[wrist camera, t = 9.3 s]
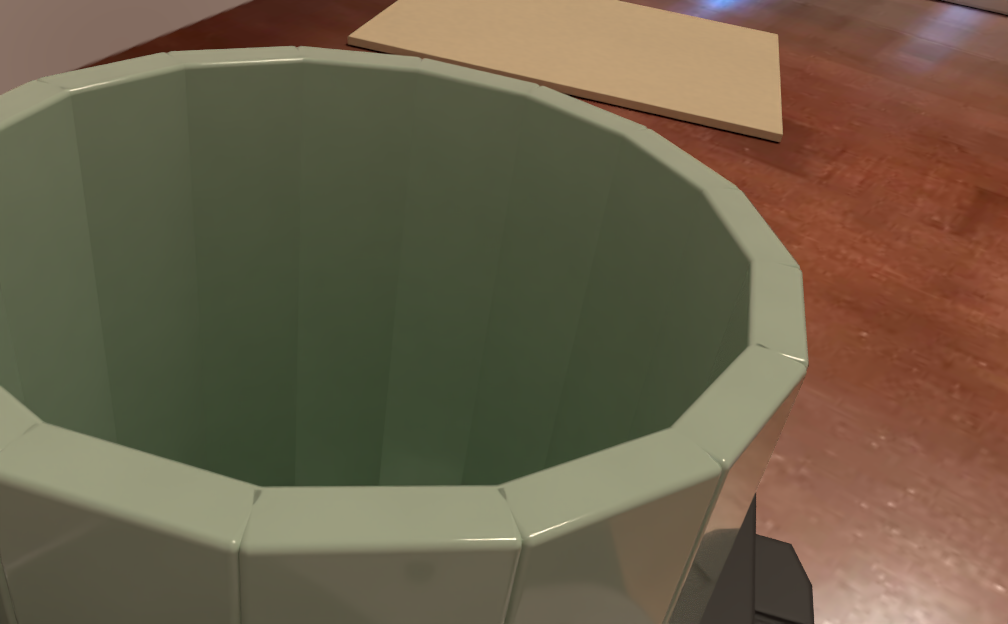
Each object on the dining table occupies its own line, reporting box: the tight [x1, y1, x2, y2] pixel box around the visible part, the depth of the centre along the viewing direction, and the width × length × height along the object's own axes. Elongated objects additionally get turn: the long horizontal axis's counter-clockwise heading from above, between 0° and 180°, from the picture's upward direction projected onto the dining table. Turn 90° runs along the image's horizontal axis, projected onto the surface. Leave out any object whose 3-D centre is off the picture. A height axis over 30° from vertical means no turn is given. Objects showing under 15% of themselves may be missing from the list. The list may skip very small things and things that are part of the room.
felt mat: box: [348, 0, 783, 142], centre depth 46 cm, size 20×16×1 cm
